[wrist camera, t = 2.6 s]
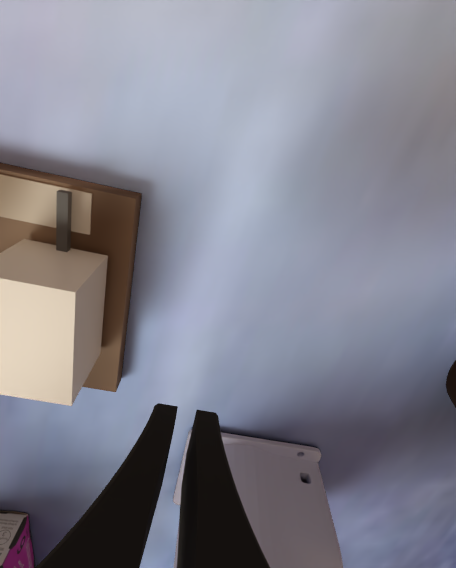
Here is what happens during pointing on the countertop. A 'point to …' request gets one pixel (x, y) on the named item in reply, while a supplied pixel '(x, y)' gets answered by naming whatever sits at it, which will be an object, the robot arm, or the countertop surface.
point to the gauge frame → (80, 244)
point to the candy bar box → (15, 540)
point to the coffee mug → (452, 383)
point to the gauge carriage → (50, 314)
